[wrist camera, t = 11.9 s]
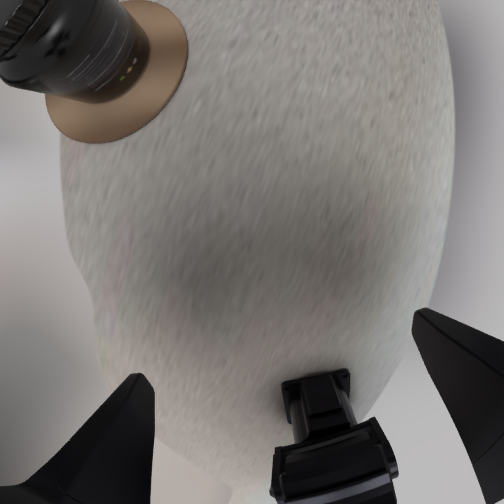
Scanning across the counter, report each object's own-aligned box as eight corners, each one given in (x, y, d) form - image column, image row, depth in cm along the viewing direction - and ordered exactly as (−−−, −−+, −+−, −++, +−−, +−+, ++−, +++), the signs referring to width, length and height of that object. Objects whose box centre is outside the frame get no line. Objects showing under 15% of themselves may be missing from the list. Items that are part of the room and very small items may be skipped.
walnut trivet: (200, 114, 17) (198, 112, 16) (58, 164, 17) (52, 165, 16) (178, -14, 13) (176, -19, 12) (50, 43, 13) (45, 40, 13)
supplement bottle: (58, 89, 14) (-60, 66, 3) (106, 16, 13) (17, -53, 1) (116, 121, 16) (-21, 97, 4) (172, 39, 14) (96, -66, 3)
